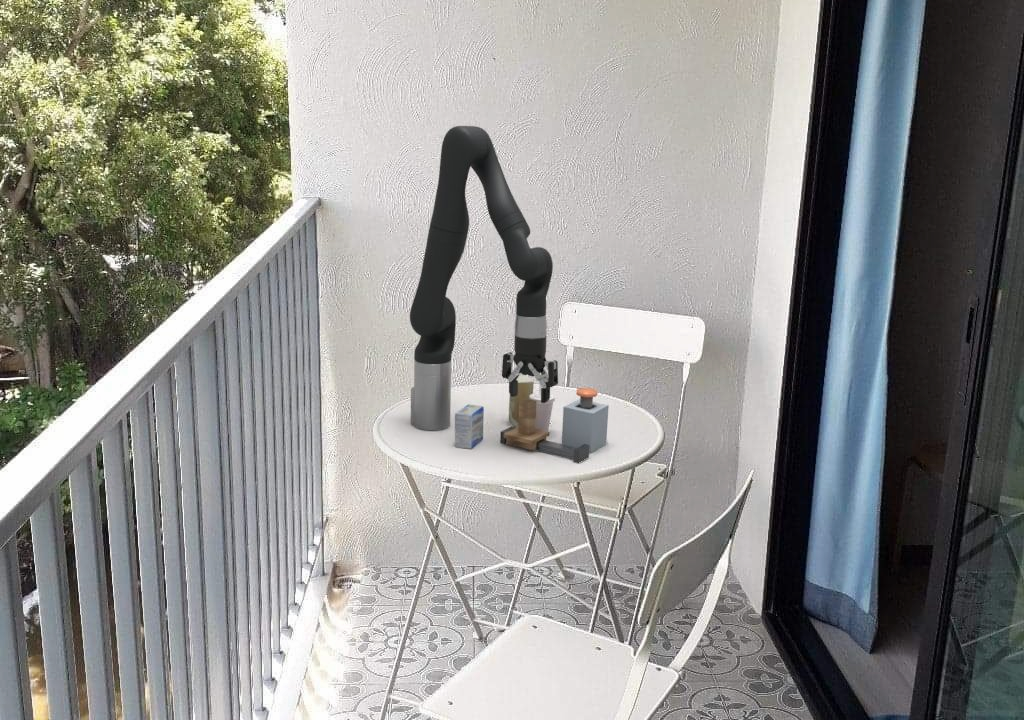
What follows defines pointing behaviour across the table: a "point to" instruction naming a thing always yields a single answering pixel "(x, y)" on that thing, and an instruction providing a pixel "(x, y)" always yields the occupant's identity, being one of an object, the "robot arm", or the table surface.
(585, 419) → the grey button box
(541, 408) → the smoothie
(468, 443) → the medicine box
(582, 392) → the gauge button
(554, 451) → the rail
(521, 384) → the skincare box
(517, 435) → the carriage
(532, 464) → the table surface
